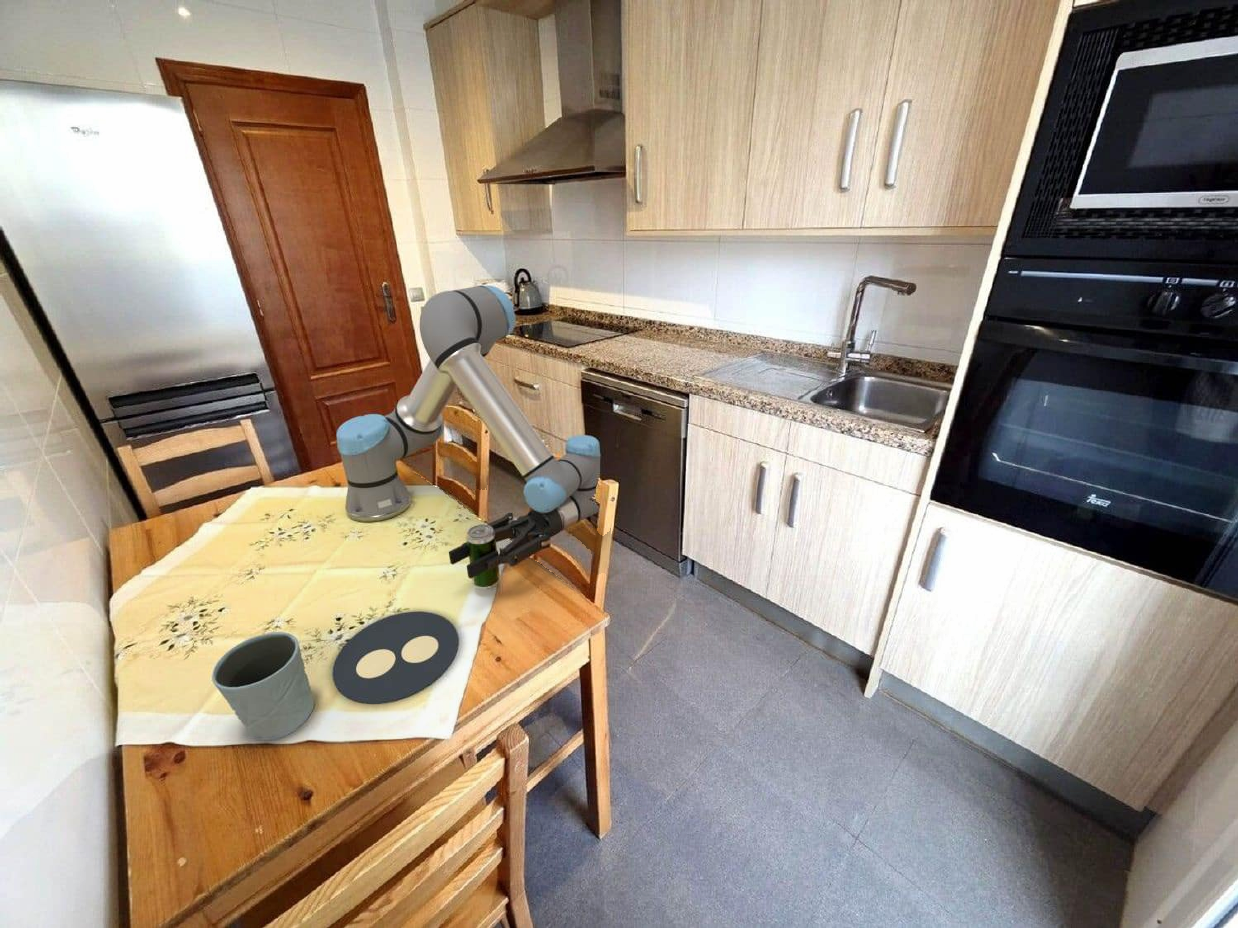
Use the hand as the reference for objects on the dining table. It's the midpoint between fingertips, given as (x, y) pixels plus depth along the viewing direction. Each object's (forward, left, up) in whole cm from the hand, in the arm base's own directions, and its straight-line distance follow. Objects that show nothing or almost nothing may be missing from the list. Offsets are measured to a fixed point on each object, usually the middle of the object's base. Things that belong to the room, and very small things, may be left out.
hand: (459, 564), depth 95 cm
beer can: (-2, +5, -7) cm, 9 cm away
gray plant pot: (+13, -30, -9) cm, 34 cm away
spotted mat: (+8, -13, -9) cm, 18 cm away
